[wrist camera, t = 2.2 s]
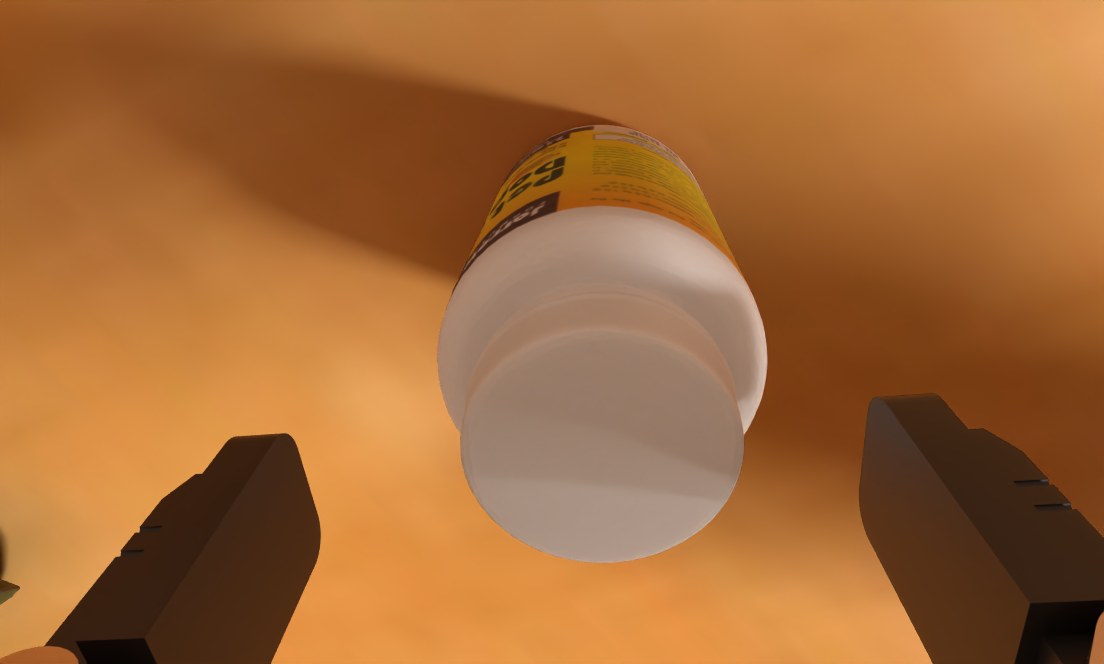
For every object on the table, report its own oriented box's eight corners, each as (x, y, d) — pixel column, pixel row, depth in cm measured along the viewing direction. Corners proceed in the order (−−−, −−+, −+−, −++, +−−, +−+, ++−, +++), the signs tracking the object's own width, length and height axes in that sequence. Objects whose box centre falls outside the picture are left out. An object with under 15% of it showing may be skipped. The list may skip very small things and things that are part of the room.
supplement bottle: (560, 75, 17) (524, 182, 8) (748, 191, 18) (901, 402, 9) (456, 261, 20) (338, 507, 11) (629, 355, 21) (658, 656, 12)
